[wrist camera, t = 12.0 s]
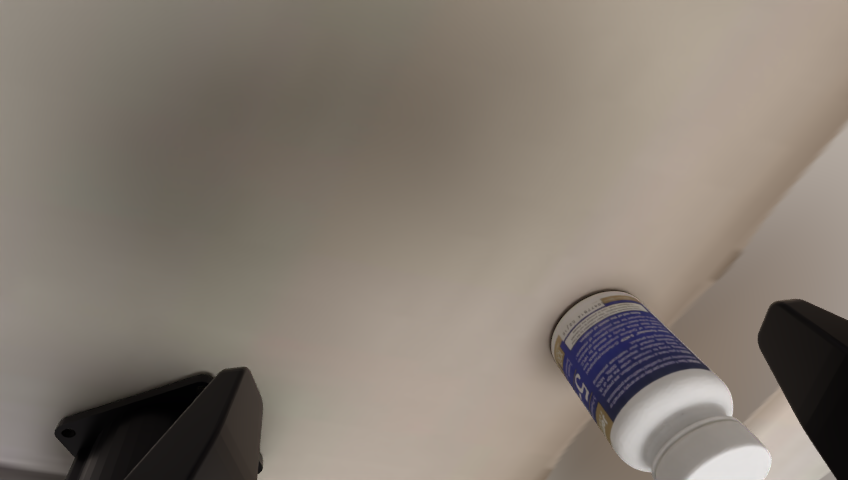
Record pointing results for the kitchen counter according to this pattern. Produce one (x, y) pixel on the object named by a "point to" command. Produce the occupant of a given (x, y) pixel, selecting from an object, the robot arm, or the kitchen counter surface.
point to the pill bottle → (653, 394)
